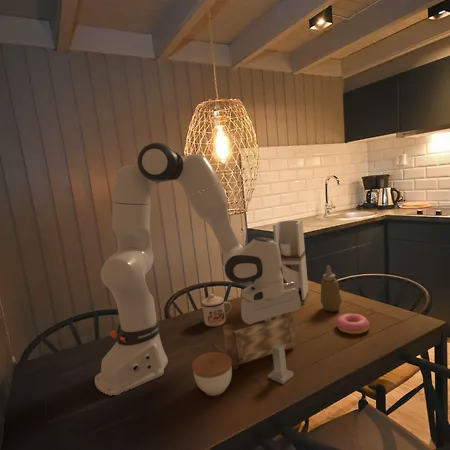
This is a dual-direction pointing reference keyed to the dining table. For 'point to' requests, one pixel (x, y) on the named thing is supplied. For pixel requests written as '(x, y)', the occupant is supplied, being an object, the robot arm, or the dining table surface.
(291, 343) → the wooden panel
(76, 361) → the dining table surface
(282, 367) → the stop post
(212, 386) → the lidded jar
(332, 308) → the squeeze bottle
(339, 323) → the doughnut
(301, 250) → the tiered white shelf
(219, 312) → the teacup with lid
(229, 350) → the hinge post
